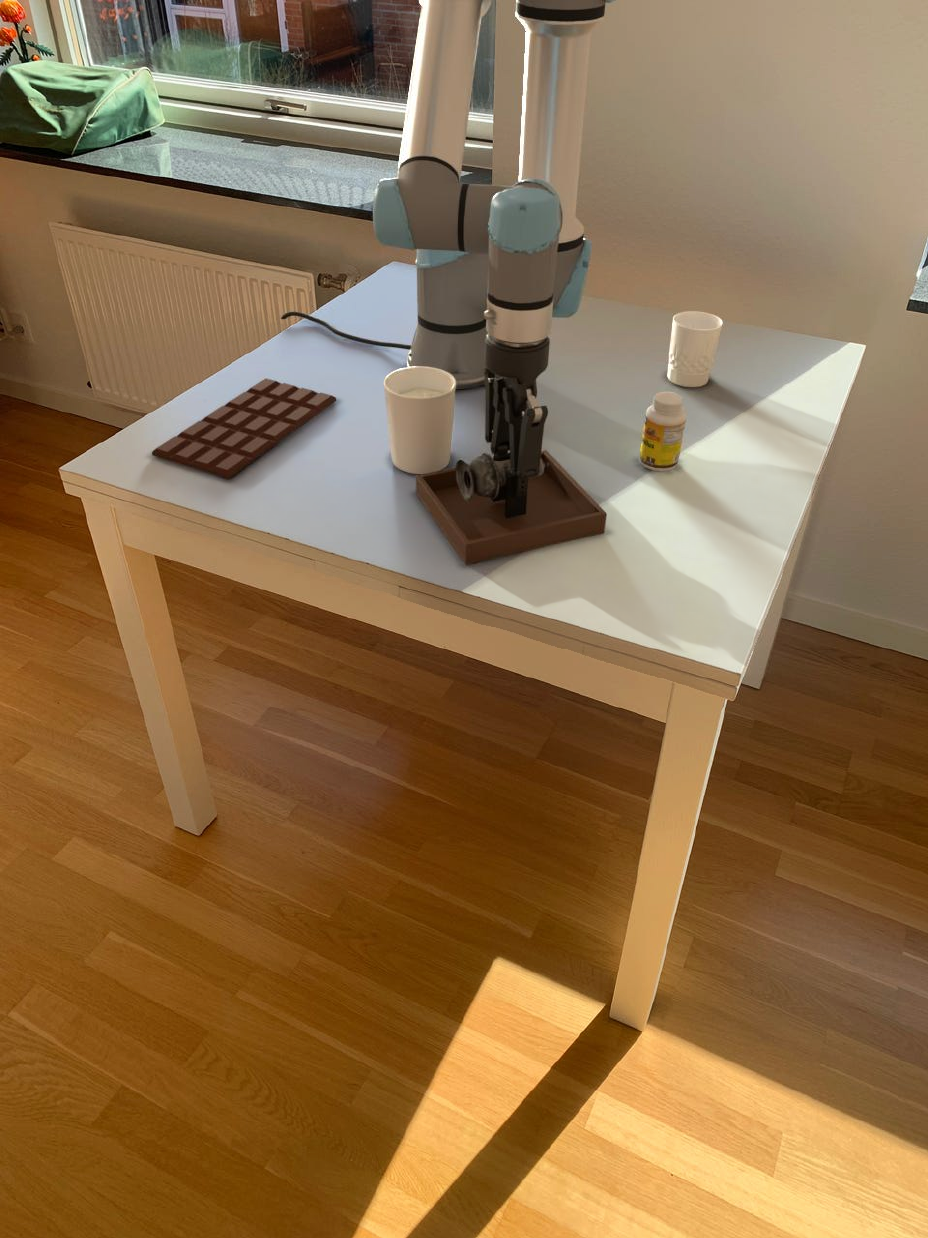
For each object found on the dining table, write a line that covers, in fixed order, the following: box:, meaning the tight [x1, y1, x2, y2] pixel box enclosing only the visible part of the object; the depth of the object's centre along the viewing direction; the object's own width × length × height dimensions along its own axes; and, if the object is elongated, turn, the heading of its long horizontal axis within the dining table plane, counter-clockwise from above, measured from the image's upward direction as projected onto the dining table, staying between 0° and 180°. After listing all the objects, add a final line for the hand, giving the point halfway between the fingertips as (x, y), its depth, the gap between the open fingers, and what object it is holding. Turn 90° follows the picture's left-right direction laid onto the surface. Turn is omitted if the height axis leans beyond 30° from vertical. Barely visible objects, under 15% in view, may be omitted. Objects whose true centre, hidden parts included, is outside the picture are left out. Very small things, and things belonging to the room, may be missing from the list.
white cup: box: [666, 310, 724, 388], centre depth 157 cm, size 8×8×10 cm
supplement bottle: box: [638, 391, 687, 472], centre depth 135 cm, size 6×6×10 cm
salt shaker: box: [455, 452, 549, 501], centre depth 123 cm, size 6×6×12 cm
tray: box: [415, 449, 608, 565], centre depth 126 cm, size 19×17×3 cm
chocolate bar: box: [151, 378, 337, 480], centre depth 144 cm, size 27×14×1 cm, turn 153°
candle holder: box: [383, 367, 457, 475], centre depth 134 cm, size 10×10×12 cm
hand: (508, 506), depth 126 cm, fingers closed on salt shaker, 3 cm apart
